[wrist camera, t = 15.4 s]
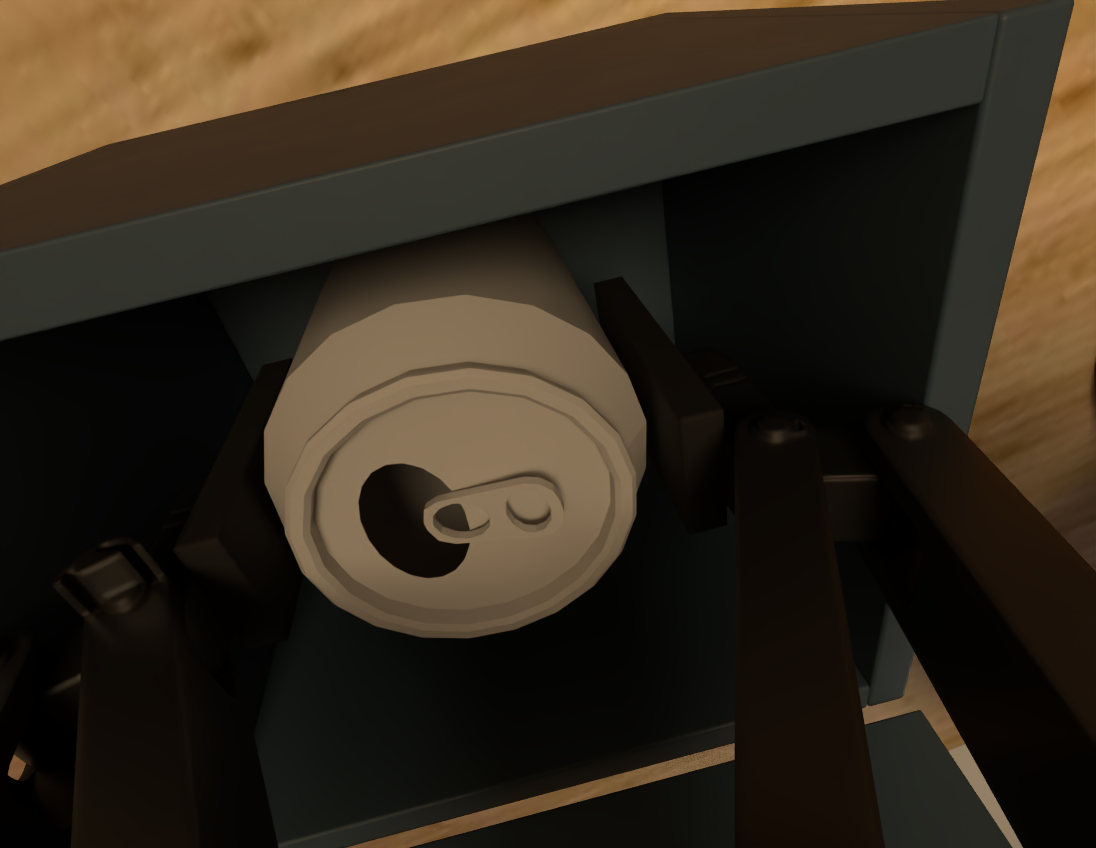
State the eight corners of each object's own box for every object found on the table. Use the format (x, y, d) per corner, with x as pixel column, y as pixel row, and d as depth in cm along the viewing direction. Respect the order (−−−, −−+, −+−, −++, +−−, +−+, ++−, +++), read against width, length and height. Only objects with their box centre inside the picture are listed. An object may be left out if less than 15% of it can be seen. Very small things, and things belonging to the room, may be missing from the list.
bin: (106, 144, 18) (-494, 369, 6) (668, 12, 18) (1081, -9, 7) (303, 498, 25) (200, 888, 14) (693, 399, 26) (904, 698, 14)
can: (292, 211, 19) (133, 426, 9) (529, 141, 19) (642, 274, 9) (387, 410, 23) (354, 708, 13) (580, 353, 23) (696, 607, 13)
